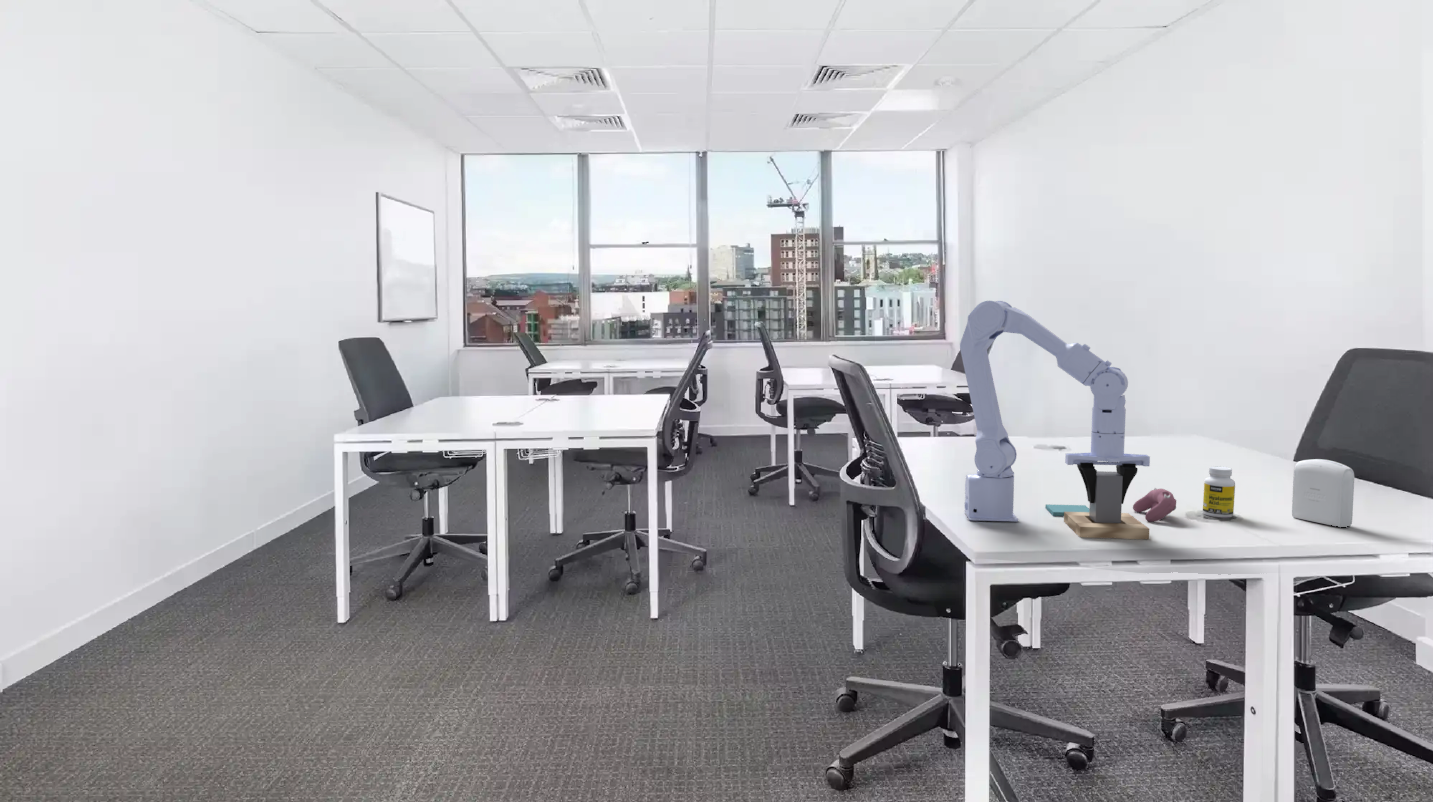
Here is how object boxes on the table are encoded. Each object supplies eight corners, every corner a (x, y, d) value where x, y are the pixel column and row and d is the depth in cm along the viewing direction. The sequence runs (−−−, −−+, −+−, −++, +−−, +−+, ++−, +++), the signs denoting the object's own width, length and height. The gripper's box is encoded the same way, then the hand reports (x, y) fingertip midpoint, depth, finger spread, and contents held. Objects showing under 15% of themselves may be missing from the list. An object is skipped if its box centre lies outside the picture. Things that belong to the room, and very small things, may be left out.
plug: (1095, 522, 156) (1097, 475, 155) (1089, 516, 161) (1090, 471, 160) (1120, 523, 156) (1122, 476, 155) (1114, 517, 160) (1115, 471, 159)
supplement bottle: (1204, 516, 167) (1207, 469, 166) (1200, 510, 172) (1202, 464, 171) (1236, 519, 165) (1238, 470, 164) (1230, 512, 170) (1233, 466, 169)
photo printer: (1287, 517, 166) (1290, 456, 165) (1301, 515, 168) (1305, 455, 166) (1340, 529, 156) (1345, 465, 155) (1356, 527, 158) (1360, 463, 157)
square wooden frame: (1079, 537, 153) (1080, 526, 153) (1063, 521, 165) (1064, 511, 165) (1149, 539, 151) (1149, 528, 151) (1127, 523, 163) (1128, 513, 163)
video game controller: (1166, 530, 163) (1185, 500, 162) (1144, 519, 164) (1162, 489, 162) (1150, 518, 173) (1168, 489, 172) (1129, 508, 173) (1147, 479, 172)
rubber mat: (1053, 515, 170) (1053, 511, 170) (1045, 508, 177) (1045, 504, 177) (1094, 516, 168) (1094, 513, 168) (1085, 508, 175) (1085, 505, 175)
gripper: (1072, 434, 154) (1070, 505, 155) (1156, 435, 151) (1153, 508, 153) (1063, 429, 161) (1061, 497, 162) (1143, 430, 158) (1141, 499, 159)
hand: (1105, 502), depth 158 cm, fingers closed on plug, 4 cm apart
